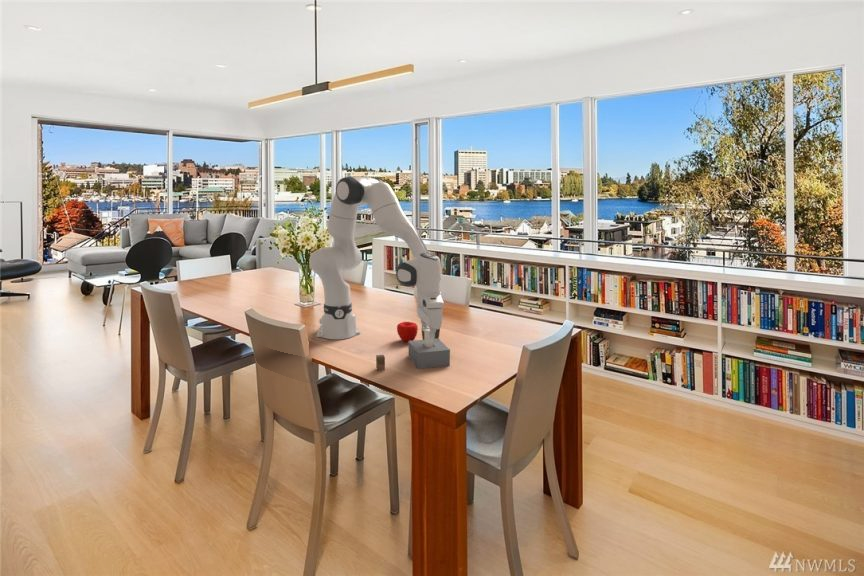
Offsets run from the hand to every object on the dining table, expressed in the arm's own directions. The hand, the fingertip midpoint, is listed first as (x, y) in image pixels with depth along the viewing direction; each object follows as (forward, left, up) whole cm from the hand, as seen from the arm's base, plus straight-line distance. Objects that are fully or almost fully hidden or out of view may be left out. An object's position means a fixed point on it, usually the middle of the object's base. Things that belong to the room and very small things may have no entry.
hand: (428, 334), depth 176 cm
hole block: (0, 0, -10) cm, 10 cm away
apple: (-25, -2, -11) cm, 27 cm away
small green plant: (-14, +5, -10) cm, 18 cm away
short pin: (+4, -19, -10) cm, 22 cm away
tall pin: (0, 0, -10) cm, 10 cm away
